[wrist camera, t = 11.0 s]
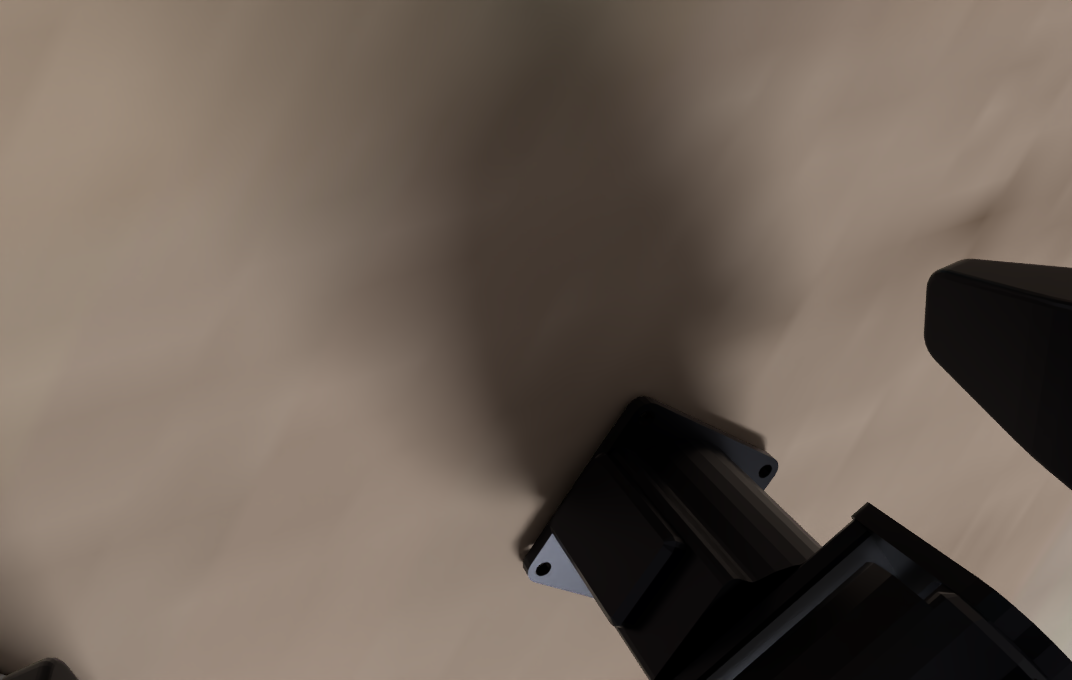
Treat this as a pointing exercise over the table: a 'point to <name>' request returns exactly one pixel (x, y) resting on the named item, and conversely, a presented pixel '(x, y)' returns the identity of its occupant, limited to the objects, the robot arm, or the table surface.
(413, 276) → the table surface
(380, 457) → the table surface
